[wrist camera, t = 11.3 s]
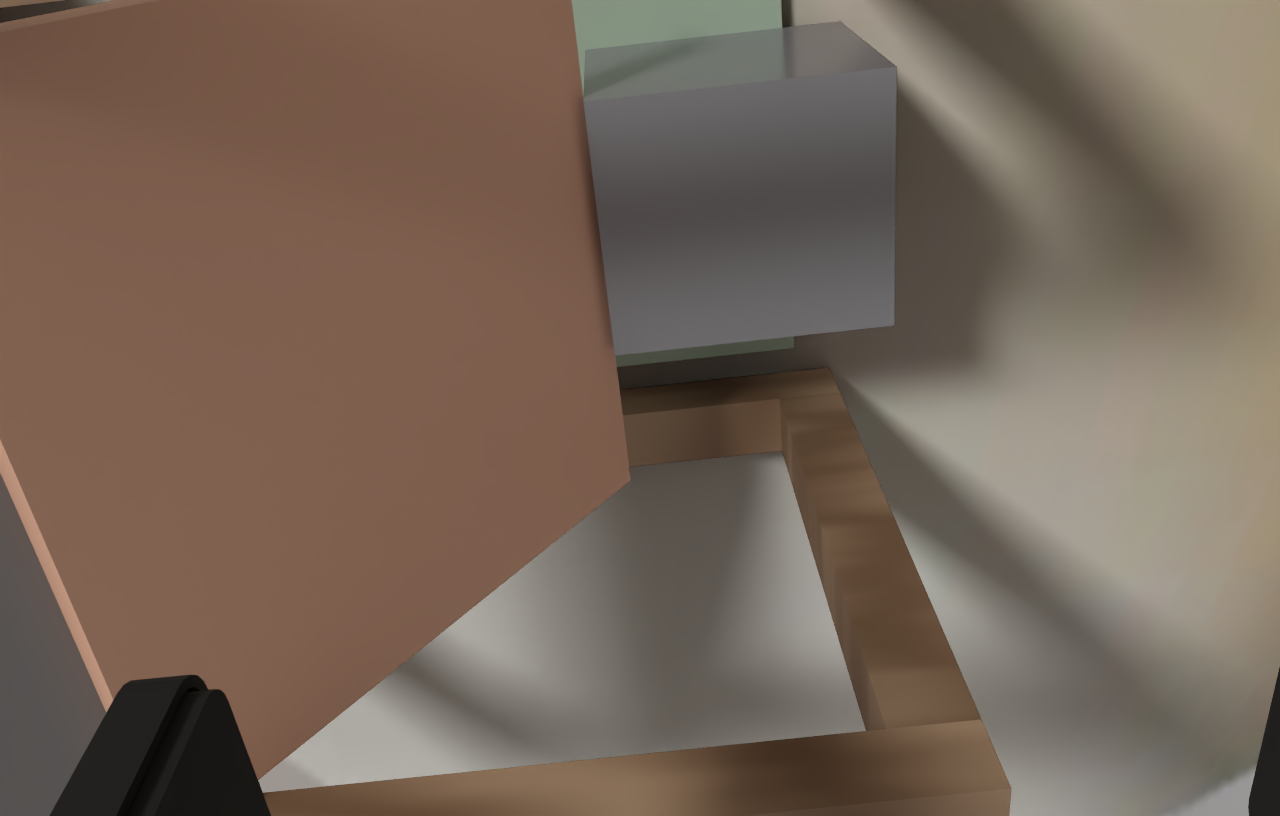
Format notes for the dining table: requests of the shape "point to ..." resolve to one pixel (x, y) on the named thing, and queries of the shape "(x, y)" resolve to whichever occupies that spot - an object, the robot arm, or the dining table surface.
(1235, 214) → the dining table surface
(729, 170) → the grey block
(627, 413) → the stand
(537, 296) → the trapdoor
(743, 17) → the mat
